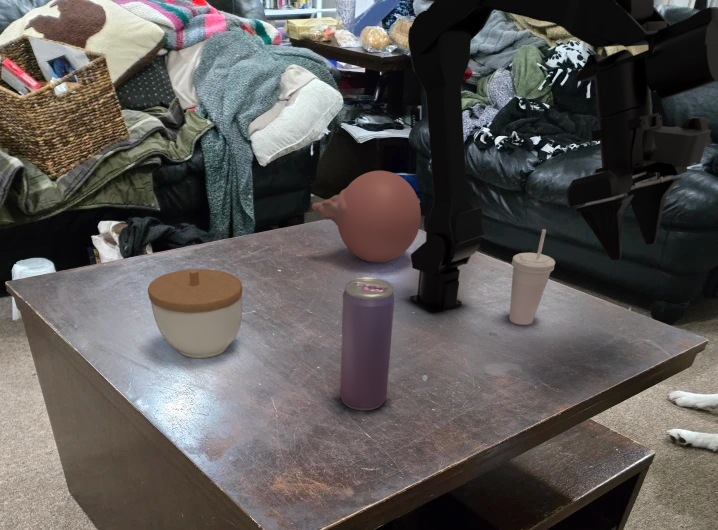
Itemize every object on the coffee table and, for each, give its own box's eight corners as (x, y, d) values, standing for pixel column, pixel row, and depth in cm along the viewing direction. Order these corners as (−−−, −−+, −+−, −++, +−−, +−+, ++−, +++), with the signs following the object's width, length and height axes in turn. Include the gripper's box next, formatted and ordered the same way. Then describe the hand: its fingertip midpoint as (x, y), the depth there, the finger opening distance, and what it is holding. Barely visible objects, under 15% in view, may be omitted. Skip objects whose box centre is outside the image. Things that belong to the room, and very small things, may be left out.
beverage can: (382, 415, 80) (391, 299, 70) (335, 409, 80) (338, 293, 71) (389, 391, 84) (398, 279, 75) (344, 386, 85) (348, 274, 75)
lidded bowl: (212, 320, 99) (205, 248, 92) (264, 348, 93) (259, 273, 86) (141, 345, 92) (126, 269, 85) (190, 377, 86) (179, 297, 79)
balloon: (314, 244, 128) (314, 159, 118) (414, 247, 128) (422, 163, 118) (309, 272, 116) (308, 180, 106) (418, 276, 116) (428, 184, 106)
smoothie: (545, 329, 100) (567, 237, 91) (504, 328, 100) (523, 236, 91) (536, 312, 105) (556, 223, 96) (497, 311, 105) (514, 222, 96)
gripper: (658, 96, 63) (666, 259, 69) (731, 82, 73) (733, 225, 79) (557, 129, 72) (572, 272, 77) (636, 113, 82) (644, 240, 88)
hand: (634, 251), depth 80 cm, fingers open, 9 cm apart
